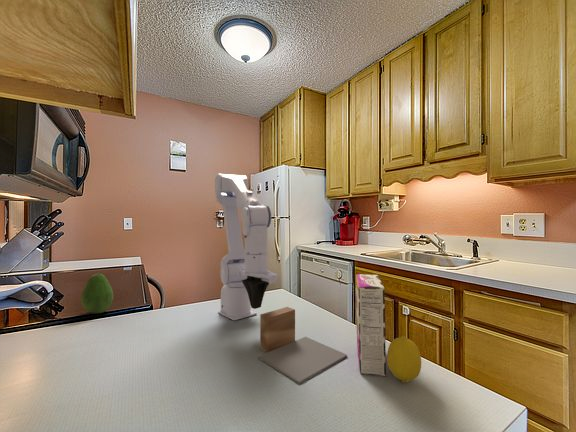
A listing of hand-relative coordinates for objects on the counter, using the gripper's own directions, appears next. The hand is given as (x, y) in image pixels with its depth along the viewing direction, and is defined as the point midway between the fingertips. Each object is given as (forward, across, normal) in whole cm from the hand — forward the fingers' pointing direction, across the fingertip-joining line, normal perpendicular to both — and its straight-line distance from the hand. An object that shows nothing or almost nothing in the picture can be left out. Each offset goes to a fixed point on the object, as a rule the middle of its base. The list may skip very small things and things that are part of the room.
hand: (256, 307), depth 69 cm
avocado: (+7, -45, -27) cm, 53 cm away
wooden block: (+6, +8, 0) cm, 11 cm away
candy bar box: (+7, +26, +9) cm, 29 cm away
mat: (+6, +16, 0) cm, 18 cm away
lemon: (+7, +34, +7) cm, 36 cm away
